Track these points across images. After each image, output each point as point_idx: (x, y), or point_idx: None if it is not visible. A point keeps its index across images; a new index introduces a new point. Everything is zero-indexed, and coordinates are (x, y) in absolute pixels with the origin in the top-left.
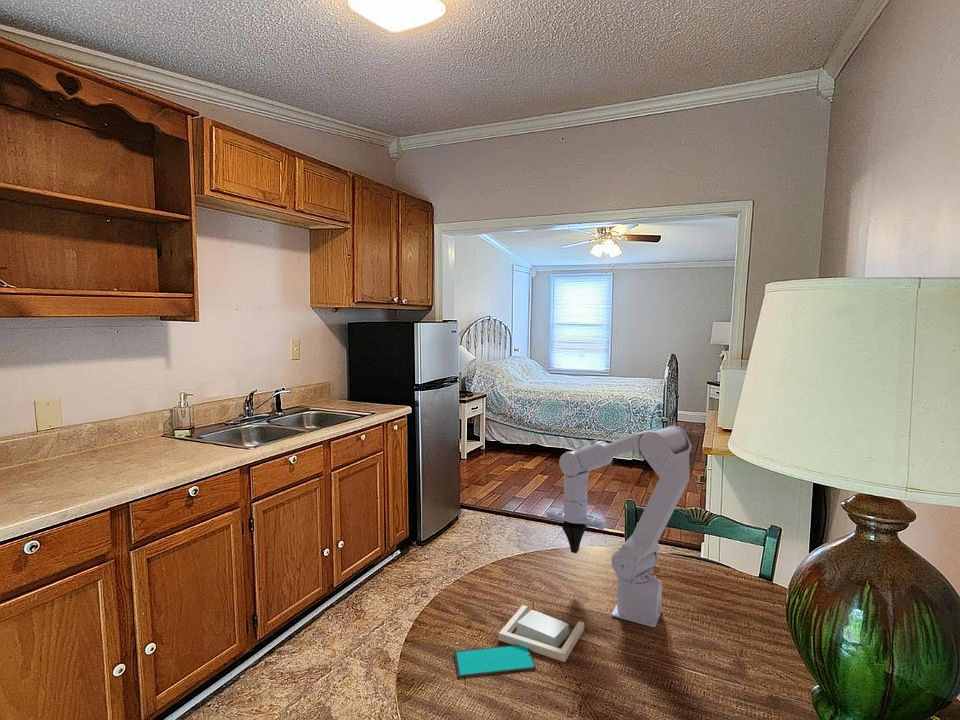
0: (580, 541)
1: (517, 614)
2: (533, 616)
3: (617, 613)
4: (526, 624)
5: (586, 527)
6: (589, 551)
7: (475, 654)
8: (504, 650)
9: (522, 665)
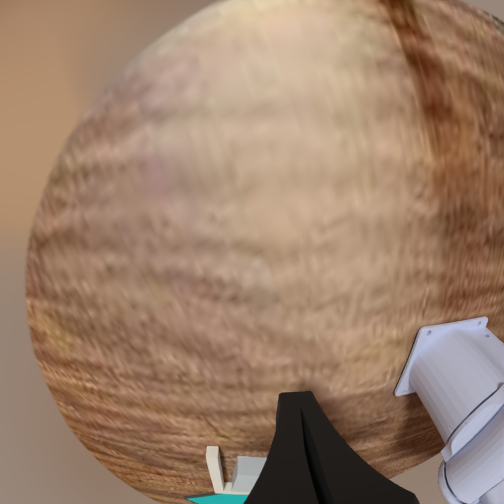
0: (331, 427)
1: (214, 472)
2: (250, 482)
3: (406, 388)
4: (248, 491)
5: (400, 492)
6: (250, 20)
7: (208, 499)
8: (236, 494)
9: None
